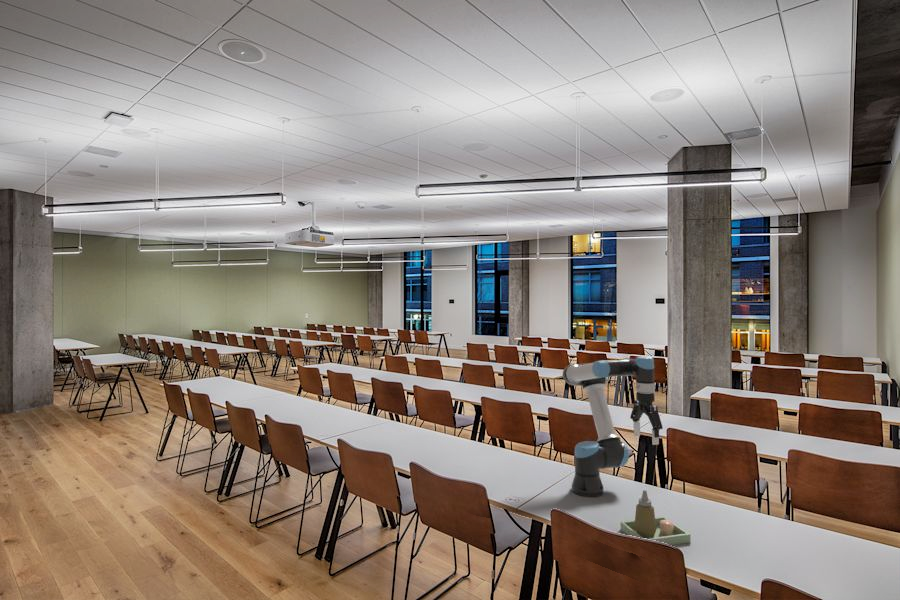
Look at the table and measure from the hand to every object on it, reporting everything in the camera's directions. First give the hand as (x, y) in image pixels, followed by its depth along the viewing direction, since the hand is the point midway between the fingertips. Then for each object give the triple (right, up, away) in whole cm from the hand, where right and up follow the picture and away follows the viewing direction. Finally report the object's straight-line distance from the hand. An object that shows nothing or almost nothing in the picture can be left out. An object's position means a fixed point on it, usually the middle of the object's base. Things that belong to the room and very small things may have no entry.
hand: (646, 440), depth 218 cm
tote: (-6, -32, -23) cm, 39 cm away
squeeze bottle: (-10, -32, -24) cm, 40 cm away
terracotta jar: (0, -31, -22) cm, 38 cm away
